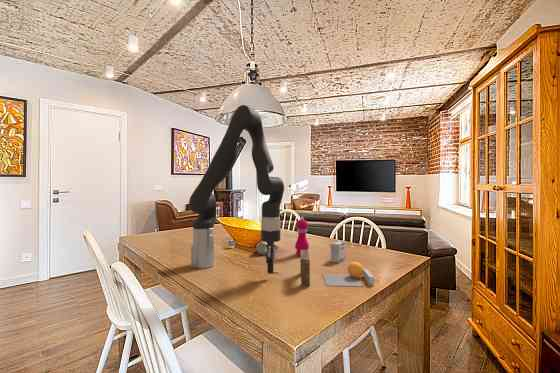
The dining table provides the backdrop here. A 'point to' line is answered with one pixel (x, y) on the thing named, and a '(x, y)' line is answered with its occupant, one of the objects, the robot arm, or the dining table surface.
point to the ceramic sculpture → (262, 248)
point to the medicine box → (337, 251)
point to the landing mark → (341, 280)
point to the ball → (355, 269)
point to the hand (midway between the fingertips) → (270, 273)
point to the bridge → (305, 268)
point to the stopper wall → (368, 277)
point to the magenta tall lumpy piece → (301, 236)
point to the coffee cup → (231, 243)
